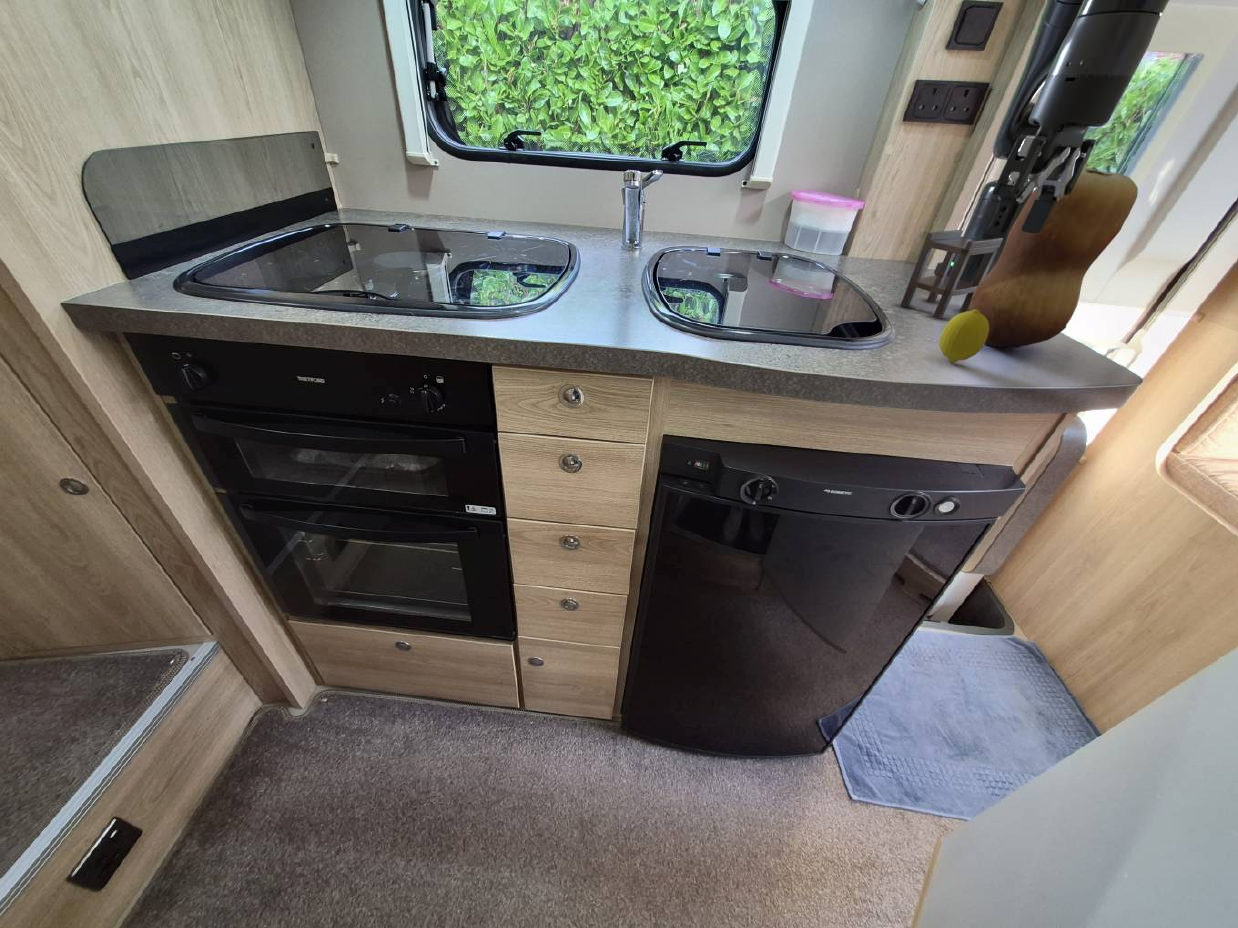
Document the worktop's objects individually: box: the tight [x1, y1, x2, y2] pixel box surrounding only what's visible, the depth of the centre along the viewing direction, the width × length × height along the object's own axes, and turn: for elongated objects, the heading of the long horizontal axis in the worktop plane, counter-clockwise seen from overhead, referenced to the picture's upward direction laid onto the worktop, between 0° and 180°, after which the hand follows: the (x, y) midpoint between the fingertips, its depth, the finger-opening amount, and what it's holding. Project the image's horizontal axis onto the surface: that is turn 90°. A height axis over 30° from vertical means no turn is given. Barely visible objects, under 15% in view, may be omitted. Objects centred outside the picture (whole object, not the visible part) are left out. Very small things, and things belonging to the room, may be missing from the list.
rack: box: [899, 229, 1003, 320], centre depth 91 cm, size 8×10×13 cm
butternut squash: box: [970, 166, 1139, 349], centre depth 73 cm, size 14×13×25 cm
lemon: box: [939, 309, 989, 364], centre depth 71 cm, size 6×6×8 cm
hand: (1013, 234), depth 63 cm, fingers open, 8 cm apart
